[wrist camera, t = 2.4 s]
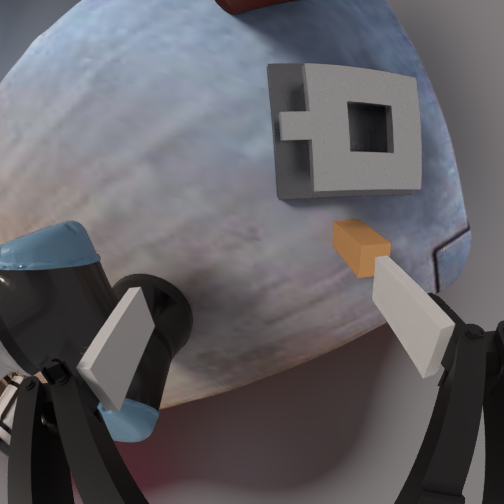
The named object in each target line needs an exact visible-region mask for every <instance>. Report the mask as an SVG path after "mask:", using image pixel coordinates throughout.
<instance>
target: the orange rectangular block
mask: <svg viewBox="0 0 504 504" xmlns="http://www.w3.org/2000/svg"><path fill="white" fill-rule="evenodd" d="M333 248H334V249H335V250H336V251H337V252H338V254H339V255H340V256H341V257H342V258H343V260H344V261H345V262H346V263H347V264H348V266H349V267H350V268H351V269H352V271H353V272H354V273H355V274H356V276H357V277H358V278H362V277H370V276H374V272H375V257H380V256H388V257H389V258H390V249H391V243H390V242H389V241H388V240H386V239H385V238H384V237H382V236H381V235H380V234H378V233H377V232H375V231H374V230H373V229H371V228H370V227H369V226H367V225H366V224H364V223H363V222H362V221H360V220H345V221H334V240H333Z"/></svg>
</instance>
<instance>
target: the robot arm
mask: <svg viewBox="0 0 504 504" xmlns="http://www.w3.org/2000/svg"><path fill="white" fill-rule="evenodd" d="M100 259H101V258H100V256H99V254H97V253H96V251H95V249H94V247H93V244H92V242H91V240H90V238H89V236H88V233H87V231H86V229H85V228H84V227H83V225H81V224H80V223H78V222H76V221H65V222H62V223H58V224H55V225H52V226H49V227H46V228H43V229H40V230H37V231H35V232H32V233H29V234H26V235H24V236H21V237H19V238H16V239H14V240H11V241H9V242H7V243H4V244H2V245H0V380H1V379H2V378H4V377H5V376H7V375H8V374H9V373H11V372H12V371H16V372H18V373H21V374H23V375H26V376H29V377H28V378H26V379H25V380H24V381H23V382H22V383H21V385H20V388H19V393H18V397H17V402H16V407H15V412H14V418H13V424H12V431H11V438H10V448H9V461H8V504H75V503H74V497H73V490H72V483H71V475H70V470H71V473H72V476H73V479H74V482H75V484H76V487H77V489H78V492H79V494H80V497H81V499H82V501H83V504H149V503H148V501H147V500H146V499H145V497H144V495H143V494H142V492H141V491H140V489H139V487H138V486H137V484H136V482H135V481H134V479H133V477H132V476H131V474H130V472H129V470H128V468H127V467H126V465H125V463H124V461H123V459H122V457H121V456H120V453H119V451H118V450H117V448H116V445H115V444H114V442H113V440H116V441H122V442H138V441H141V440H144V439H146V438H147V437H148V436H150V435H151V433H152V431H153V428H154V426H155V423H156V420H157V418H158V417H159V407H160V403H161V399H162V395H163V391H164V387H165V383H166V379H167V375H168V372H169V368H170V364H171V360H172V359H173V357H174V356H175V355H176V354H177V353H178V351H179V350H180V349H181V348H182V347H183V346H184V345H185V344H186V342H187V341H188V339H189V336H190V333H191V329H192V323H193V317H192V312H191V308H190V306H189V304H188V302H187V300H186V299H185V297H184V296H183V295H182V294H181V292H180V291H179V290H178V289H177V288H175V287H174V286H173V285H171V284H170V283H168V282H167V281H165V280H163V279H161V278H158V277H156V276H152V275H147V274H133V275H129V276H126V277H124V278H122V279H120V280H119V281H118V282H117V283H116V284H115V285H114V286H113V287H112V288H111V285H110V283H109V281H108V279H107V277H106V274H105V272H104V270H103V268H102V265H101V263H100ZM372 300H373V302H374V303H375V304H376V306H377V307H378V309H379V310H380V312H381V313H382V315H383V316H384V317H385V319H386V320H387V322H388V323H389V325H390V326H391V328H392V329H393V331H394V332H395V334H396V336H397V337H398V339H399V340H400V342H401V343H402V345H403V346H404V348H405V349H406V351H407V353H408V354H409V356H410V357H411V359H412V361H413V362H414V364H415V366H416V367H417V369H418V370H419V372H420V374H421V376H422V377H423V378H426V377H429V376H431V375H434V374H436V373H437V372H438V369H439V367H440V365H441V364H442V366H443V367H444V368H445V370H444V372H443V375H442V377H441V379H440V381H439V383H438V386H440V388H439V391H438V395H437V399H436V403H435V406H434V410H433V413H432V417H431V419H430V423H429V426H428V429H427V432H426V434H425V437H424V440H423V442H422V445H421V448H420V450H419V453H418V455H417V458H416V460H415V463H414V465H413V467H412V469H411V471H410V474H409V476H408V478H407V480H406V482H405V484H404V486H403V488H402V490H401V492H400V494H399V496H398V498H397V499H396V501H395V503H394V504H465V497H464V496H463V495H462V490H463V487H464V484H465V481H466V477H467V474H468V471H469V467H470V464H471V461H472V457H473V453H474V448H475V444H476V440H477V435H478V430H479V425H480V418H481V412H482V405H483V412H484V424H485V453H486V455H485V456H486V457H485V482H484V492H483V501H482V504H504V321H501V322H500V323H499V324H498V326H497V329H496V331H490V332H485V331H484V330H483V329H482V328H481V327H479V326H478V325H475V324H465V323H464V322H463V321H462V320H461V318H460V317H459V316H458V315H457V314H456V313H455V312H454V311H453V310H452V309H450V307H449V306H448V305H447V304H445V302H444V301H443V300H442V299H441V298H440V297H439V296H436V295H435V294H433V293H428V294H427V293H426V292H425V291H424V290H423V289H422V288H421V287H420V286H419V285H418V284H417V283H416V282H415V281H414V280H413V279H412V278H411V277H410V276H409V275H407V274H406V273H405V272H404V271H403V270H402V269H401V268H400V267H399V266H398V265H397V264H396V263H395V262H394V261H393V260H392V259H391V258H389V257H388V256H380V257H375V272H374V285H373V296H372ZM39 371H41V373H42V374H43V376H44V377H45V379H46V380H47V382H48V383H43V384H42V383H41V382H40V380H39V379H38V377H36V376H33V375H35V374H36V373H38V372H39ZM41 418H42V419H43V423H42V419H41Z"/></svg>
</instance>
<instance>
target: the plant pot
mask: <svg viewBox="0 0 504 504" xmlns="http://www.w3.org/2000/svg"><path fill="white" fill-rule="evenodd" d="M215 1H216V3H217V4H218V5H219V6H220V7H221V8H222V9H223V10H224V11H226V12H227V13H229V14H232V15H236V14H240V13H243V12H246V11H250V10H254V9H258V8H262V7H266V6H270V5H274V4H279V3H284V2H289V1H295V0H215Z"/></svg>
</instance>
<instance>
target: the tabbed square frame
mask: <svg viewBox="0 0 504 504" xmlns="http://www.w3.org/2000/svg"><path fill="white" fill-rule="evenodd" d="M267 75H268V86H269V96H270V107H271V119H272V131H273V143H274V156H275V170H276V185H277V197H278V199H279V200H285V199H300V198H318V197H338V196H366V195H411V189H421V179H422V144H421V122H420V109H419V99H418V90H417V83H416V78H414V77H409V76H405V75H400V74H395V73H390V72H385V71H379V70H373V69H366V68H359V67H350V66H341V65H329V64H312V63H304V64H268V66H267Z"/></svg>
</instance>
